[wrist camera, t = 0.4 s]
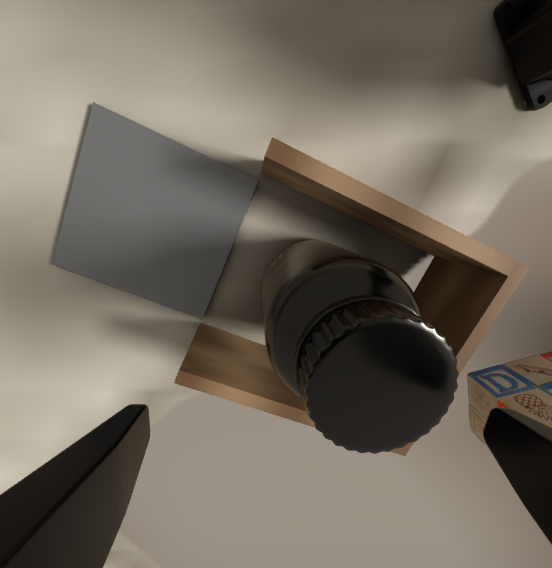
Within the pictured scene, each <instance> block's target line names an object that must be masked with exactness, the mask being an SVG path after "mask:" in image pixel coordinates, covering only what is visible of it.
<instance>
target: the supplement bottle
mask: <svg viewBox="0 0 552 568" xmlns="http://www.w3.org/2000/svg"><path fill="white" fill-rule="evenodd" d="M261 294H262V308H263V320H264V333H265V342H266V349H267V353H268V357H269V360H270V363H271V365H272V367H273V369H274V371H275V373H276V374H277V376H278V377H279V379H280V380H281V381H282V382H283V384H284V385H285V386H286V387H287V388H288V389H290V390H291V391H292V392H293V393H295V394H296V395H298V396H299V397H301V398H302V399H303V401H304V403H305V407H306V411H307V414H308V416H309V418H310V419H311V420H312V421H313V424H314V426H315V428H316V429H317V430H318V431H320V432H322V434H323V436H324V437H325V438H326V439H328V440H332V441H333V443H334V444H335V445H336V446H342V447H344V448H345V449H347V450H351V451H354V450H355V451H358V452H360V453H366V452H371V453H374V454H376V453H379V452H382V451H383V452H390V451H392V450H394V449H396V448H403V447H405V446H406V445H407V444H409V443H413V442H416V441H417V440H418V439H419V438H420V437H421V436H423V435H425V434H428V433H429V431H430V430H431V429H432V427H434V426H436V425H437V424H438V423H439V422H440V420H441V417H442V416H444V415H445V414H446V413H447V411H448V407H449V405H450V404H451V403H452V401H453V400H454V392H455V391H456V389H457V378H458V375H459V372H458V370H457V368H456V367H457V359H456V357H455V356H454V355H453V347H452V346H451V345H450V344H449V343H447V341H446V338H445V336H444V335H443V334H442V333H441V332H439V331H438V330H436V329H435V327H434V326H433V325H432V324H431V323H429V322H427V321H426V320H424V319H423V317H422V313H421V309H420V306H419V303H418V301H417V298H416V296H415V294H414V293H413V291H412V289H411V288H410V287H409V285H407V283H406V282H405V281H404V280H403V279H402V278H401V277H400V276H399V275H398V274H397V273H396V272H394V271H393V270H391V269H389V268H388V267H386V266H384V265H382V264H380V263H378V262H376V261H374V260H371V259H369V258H366V257H364V256H361V255H359V254H356V253H354V252H351V251H349V250H346V249H344V248H341V247H339V246H337V245H334V244H331V243H328V242H325V241H320V240H305V241H300V242H296V243H293V244H291V245H289V246H287V247H286V248H284V249H283V250H281V251H280V252H279V253H278V254H276V256H275V257H274V258H273V259H272V260H271V262H270V263H269V265H268V266H267V268H266V270H265V273H264V276H263V280H262V289H261Z"/></svg>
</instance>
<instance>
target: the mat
mask: <svg viewBox="0 0 552 568" xmlns="http://www.w3.org/2000/svg"><path fill="white" fill-rule="evenodd" d="M257 183H258V180H256V179H254V178H252V177H250V176H248V175H246V174H244V173H242V172H239V171H237V170H235V169H233V168H231V167H229V166H227V165H225V164H223V163H220V162H218V161H216V160H214V159H212V158H210V157H208V156H206V155H204V154H201V153H199V152H197V151H195V150H193V149H191V148H189V147H187V146H185V145H182V144H180V143H178V142H176V141H174V140H172V139H170V138H168V137H165V136H163V135H161V134H159V133H157V132H155V131H153V130H151V129H149V128H146V127H144V126H142V125H140V124H138V123H136V122H134V121H132V120H130V119H127V118H125V117H123V116H121V115H119V114H117V113H115V112H113V111H111V110H108V109H106V108H104V107H102V106H100V105H98V104H96V103H94V102H93V105H92V109H91V112H90V116H89V120H88V124H87V128H86V132H85V136H84V140H83V144H82V148H81V152H80V156H79V159H78V163H77V167H76V171H75V175H74V179H73V183H72V187H71V191H70V195H69V199H68V202H67V206H66V210H65V214H64V218H63V222H62V226H61V230H60V234H59V238H58V242H57V246H56V249H55V253H54V257H53V261H52V265H55V266H58V267H61V268H63V269H66V270H69V271H72V272H74V273H77V274H80V275H82V276H85V277H88V278H91V279H93V280H96V281H99V282H102V283H104V284H107V285H110V286H113V287H115V288H118V289H121V290H124V291H126V292H129V293H132V294H135V295H137V296H140V297H143V298H146V299H148V300H151V301H154V302H157V303H159V304H162V305H165V306H168V307H170V308H173V309H176V310H178V311H181V312H184V313H187V314H189V315H192V316H195V317H198V318H200V319H203V317H204V315H205V312H206V310H207V307H208V305H209V302H210V300H211V297H212V295H213V292H214V290H215V287H216V285H217V282H218V280H219V277H220V275H221V272H222V270H223V268H224V265H225V263H226V260H227V258H228V255H229V253H230V250H231V248H232V245H233V243H234V240H235V238H236V235H237V233H238V230H239V228H240V225H241V223H242V220H243V218H244V215H245V213H246V210H247V208H248V205H249V203H250V200H251V198H252V195H253V193H254V191H255V188H256V186H257Z"/></svg>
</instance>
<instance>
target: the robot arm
mask: <svg viewBox="0 0 552 568" xmlns="http://www.w3.org/2000/svg"><path fill="white" fill-rule="evenodd" d="M504 8H505V9H506V13H505V12H504ZM494 19H495V22H496V24H497V27H498V30H499V32H500V35H501V38H502V40H503V43H504V45H505V48H506V51H507V53H508V56H509V59H510V61H511V64H512V67H513V69H514V72H515V74H516V77H517V80H518V82H519V85H520V88H521V90H522V93H523V96H524V98H525V101H526V103H527V106H528V108H529V109H530V110H531V111H535V110H538V109H541V108H543V107H545V106H546V105H548V104H549V103H550V102H552V0H503V1H502V2H500V3H499V4H498V5H497V6H496V8H495V10H494ZM537 99H539V102H537ZM483 437H484V440H485V442H486V444H487V446H488V447H489V449H490V451H491V452H492V454H493V456H494V457H495V459H496V460H497V462H498V464H499V465H500V467H501V469H502V470H503V472H504V473H505V475H506V477H507V478H508V480H509V482H510V483H511V485H512V487H513V488H514V490H515V492H516V493H517V495H518V496H519V498H520V499H521V501H522V503H523V504H524V506H525V507H526V509H527V510H528V512H529V513H530V515H531V516H532V517H533V519H534V520H535V522H536V523H537V525H538V526H539V527H540V529H541V530H542V532H543V533H544V534H545V536H546V537H547V539H548V540H549V541H550V543H551V544H552V428H551V427H549V426H547V425H545V424H543V423H540V422H538V421H536V420H534V419H532V418H530V417H528V416H525V415H523V414H521V413H519V412H517V411H515V410H513V409H510V408H493V409H492V410H491V411H490V413H489V416H488V419H487V422H486V425H485V428H484V431H483ZM149 438H150V422H149V410H148V407H147V405H145V404H131V405H128V406H126V407H125V408H123V409H122V410H121V411H119V412H118V413H116V414H115V415H113V416H112V417H111V418H109V419H108V420H106V421H105V422H104V423H102V424H101V425H99V426H98V427H96V428H95V429H94V430H92V431H91V432H89V433H88V434H86V435H85V436H84V437H82V438H81V439H79V440H78V441H76V442H75V443H74V444H72V445H71V446H69V447H68V448H66V449H65V450H64V451H62V452H61V453H59V454H58V455H57V456H55V457H54V458H52V459H51V460H49V461H48V462H47V463H45V464H44V465H42V466H41V467H39V468H38V469H37V470H35V471H34V472H32V473H31V474H29V475H28V476H27V477H25V478H24V479H22V480H21V481H19V482H18V483H17V484H15V485H14V486H12V487H11V488H10V489H8V490H7V491H5V492H4V493H2V494H1V495H0V568H103V566H104V563H105V561H106V559H107V556H108V554H109V552H110V549H111V547H112V545H113V542H114V540H115V538H116V535H117V533H118V530H119V528H120V526H121V523H122V521H123V518H124V516H125V513H126V510H127V507H128V505H129V502H130V499H131V496H132V492H133V489H134V486H135V483H136V480H137V477H138V473H139V471H140V467H141V464H142V461H143V458H144V455H145V452H146V449H147V446H148V442H149Z"/></svg>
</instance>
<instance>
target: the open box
mask: <svg viewBox="0 0 552 568" xmlns="http://www.w3.org/2000/svg"><path fill="white" fill-rule="evenodd" d="M261 173H262V174H264V175H266V176H268V177H270V178H273V179H275V180H277V181H279V182H281V183H283V184H285V185H287V186H289V187H291V188H293V189H295V190H298V191H300V192H302V193H304V194H306V195H308V196H310V197H312V198H314V199H316V200H318V201H320V202H323V203H325V204H327V205H329V206H331V207H333V208H335V209H337V210H339V211H341V212H343V213H345V214H348V215H350V216H352V217H354V218H356V219H358V220H360V221H362V222H364V223H366V224H368V225H371V226H373V227H375V228H377V229H379V230H381V231H383V232H385V233H387V234H389V235H391V236H393V237H396V238H398V239H400V240H402V241H404V242H406V243H408V244H410V245H412V246H414V247H416V248H418V249H421V250H423V251H425V252H427V253H429V254H431V255H433V256H434V258H433V260H432V262H431V264H430V265H429V267H428V269H427V270H426V272H425V274H424V276H423V277H422V279H421V281H420V282H419V284H418V286H417V288H416V290H415V291H414V294H415V296H416V298H417V301H418V303H419V306H420V309H421V313H422V317H423V319H424V320H426V321H427V322H429V323H431V324H432V325H433V326H434V327H435V329H436V330H438V331H439V332H441V333H442V334H443V335H444V336H445V338H446V341H447V343H449V344H450V345H451V346H452V347H453V355H454V356H455V357H456V359H457V367H456V368H457V370H458V372H459V374H460V372H461V371H462V369H463V368H464V366H465V365H466V363H467V362H468V360H469V359H470V357H471V356H472V354H473V353H474V351H475V350H476V348H477V347H478V345H479V344H480V342H481V341H482V339H483V338H484V336H485V335H486V333H487V332H488V330H489V328H490V327H491V326H492V324H493V322H494V321H495V319H496V318H497V317H498V315H499V313H500V312H501V310H502V309H503V307H504V306H505V304H506V303H507V301H508V300H509V298H510V297H511V295H512V294H513V292H514V291H515V289H516V288H517V286H518V285H519V283H520V282H521V280H522V279H523V277H524V276H525V274H526V273H527V271H528V270H529V268H528V267H527V266H525V265H523V264H520V263H519V262H517V261H515V260H513V259H511V258H509V257H507V256H505V255H503V254H501V253H499V252H497V251H495V250H493V249H491V248H489V247H487V246H485V245H483V244H481V243H479V242H477V241H475V240H473V239H472V238H470V237H468V236H466V235H464V234H462V233H460V232H458V231H456V230H454V229H452V228H450V227H448V226H446V225H444V224H442V223H440V222H438V221H436V220H434V219H432V218H430V217H428V216H426V215H424V214H422V213H420V212H418V211H416V210H414V209H413V208H411V207H409V206H407V205H405V204H403V203H401V202H399V201H397V200H395V199H393V198H391V197H389V196H387V195H385V194H383V193H381V192H379V191H377V190H375V189H373V188H371V187H369V186H367V185H365V184H363V183H361V182H359V181H357V180H355V179H353V178H352V177H350V176H348V175H346V174H344V173H342V172H340V171H338V170H336V169H334V168H332V167H330V166H328V165H326V164H324V163H322V162H320V161H318V160H316V159H314V158H312V157H310V156H308V155H306V154H304V153H302V152H300V151H298V150H296V149H294V148H292V147H290V146H289V145H287V144H285V143H283V142H281V141H279V140H277V139H275V138H273V137H272V139H271V142H270V144H269V147H268V149H267V152H266V154H265V157H264V162H263V167H262V171H261ZM174 383H176V384H179V385H182V386H185V387H189V388H192V389H195V390H198V391H201V392H204V393H208V394H211V395H214V396H217V397H220V398H224V399H227V400H230V401H233V402H236V403H240V404H242V405H246V406H249V407H252V408H255V409H258V410H262V411H264V412H268V413H271V414H274V415H277V416H280V417H283V418H287V419H290V420H293V421H296V422H300V423H303V424H306V425H309V426H312V427H315V426H314V424H313V421H312V420H311V419H310V418H309V416H308V414H307V411H306V407H305V403H304V401H303V399H302V398H301V397H299V396H298V395H296V394H295V393H293V392H292V391H291V390H290V389H288V388H287V387H286V386H285V385H284V384H283V382H282V381H281V380H280V379H279V377H278V376H277V374H276V373H275V371H274V369H273V367H272V365H271V363H270V360H269V357H268V353H267V349H266V346H263V345H261V344H258V343H255V342H252V341H250V340H247V339H244V338H241V337H239V336H236V335H233V334H230V333H228V332H225V331H222V330H219V329H216V328H214V327H211V326H208V325H205V324H203V323H201V324H200V326H199V328H198V330H197V332H196V335H195V337H194V339H193V341H192V343H191V345H190V348H189V350H188V352H187V354H186V356H185V359H184V361H183V363H182V365H181V367H180V369H179V372H178V374H177V377H176V379H175V382H174ZM413 443H414V442H413ZM413 443H409V444H407V445H406V446H405V447H403V448H396V449H394V450H392V451H391V452H394V453H397V454H401V455H404V456H405V455H406V454H407V452H408V451H409V449H410V447H411V446H412V445H413Z"/></svg>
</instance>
